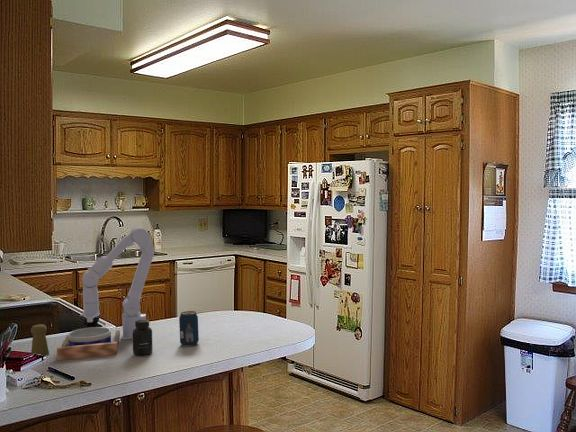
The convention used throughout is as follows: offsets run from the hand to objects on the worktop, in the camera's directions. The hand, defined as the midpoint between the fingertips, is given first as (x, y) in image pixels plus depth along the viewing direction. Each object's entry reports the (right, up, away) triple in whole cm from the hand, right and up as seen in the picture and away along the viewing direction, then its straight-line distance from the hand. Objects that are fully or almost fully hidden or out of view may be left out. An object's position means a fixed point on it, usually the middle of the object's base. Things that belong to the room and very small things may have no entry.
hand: (92, 336), depth 216 cm
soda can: (+39, -1, -8) cm, 40 cm away
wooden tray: (+2, -2, -7) cm, 8 cm away
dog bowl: (+2, -3, -9) cm, 10 cm away
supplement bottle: (+25, -2, -19) cm, 31 cm away
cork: (-13, -3, -17) cm, 21 cm away
